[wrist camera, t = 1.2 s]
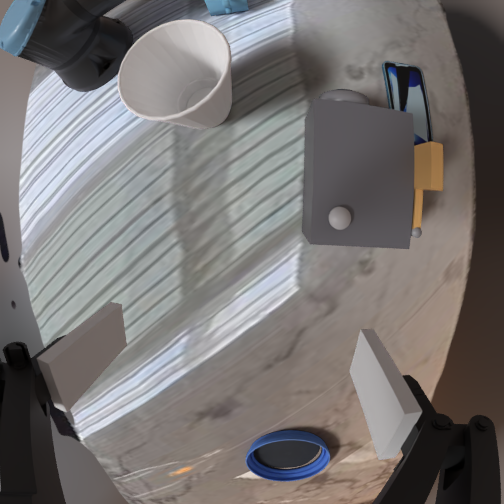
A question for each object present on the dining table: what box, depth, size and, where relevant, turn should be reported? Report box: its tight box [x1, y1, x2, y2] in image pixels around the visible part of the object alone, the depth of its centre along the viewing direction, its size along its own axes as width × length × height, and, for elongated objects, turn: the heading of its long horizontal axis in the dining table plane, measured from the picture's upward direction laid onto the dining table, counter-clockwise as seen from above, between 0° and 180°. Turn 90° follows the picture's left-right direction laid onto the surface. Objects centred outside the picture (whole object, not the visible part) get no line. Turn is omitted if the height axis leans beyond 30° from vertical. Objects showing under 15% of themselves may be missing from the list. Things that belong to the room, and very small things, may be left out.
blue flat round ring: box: [246, 430, 330, 481], centre depth 48 cm, size 18×18×4 cm
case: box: [302, 89, 414, 249], centre depth 32 cm, size 18×12×11 cm, turn 179°
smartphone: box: [382, 61, 433, 146], centre depth 34 cm, size 7×1×15 cm
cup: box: [118, 19, 232, 129], centre depth 29 cm, size 12×12×16 cm
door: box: [411, 141, 443, 238], centre depth 30 cm, size 11×2×14 cm, turn 179°
